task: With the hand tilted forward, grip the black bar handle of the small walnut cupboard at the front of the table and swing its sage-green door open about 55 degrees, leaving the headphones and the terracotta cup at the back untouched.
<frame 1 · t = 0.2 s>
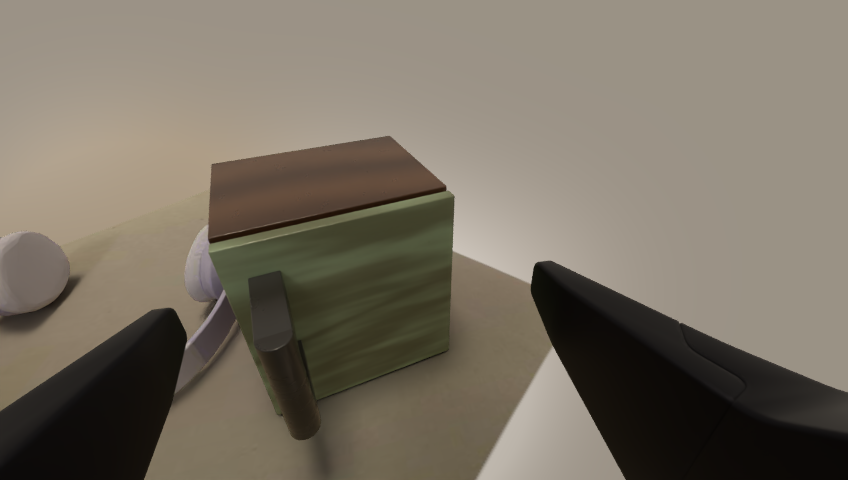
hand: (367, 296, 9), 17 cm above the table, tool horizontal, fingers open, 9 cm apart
door: (370, 339, 22), point 7 cm above the table, hinge at 0.0°
headphones: (100, 349, 30), on the table
cupboard: (348, 324, 32), on the table
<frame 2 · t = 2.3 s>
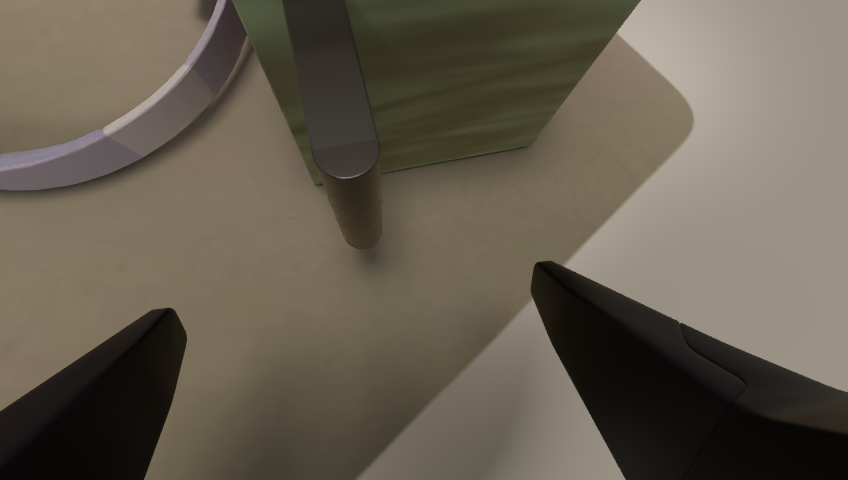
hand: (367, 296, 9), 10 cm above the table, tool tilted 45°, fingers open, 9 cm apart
door: (461, 138, 15), point 7 cm above the table, hinge at 0.0°
headphones: (62, 36, 22), on the table
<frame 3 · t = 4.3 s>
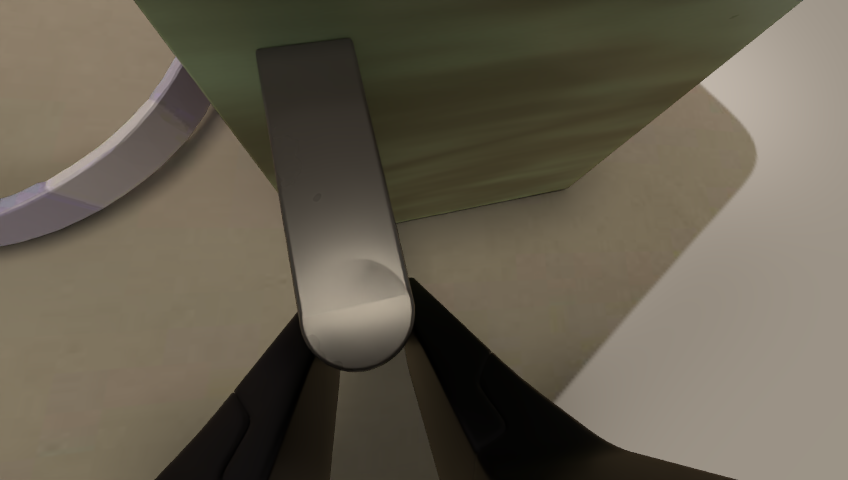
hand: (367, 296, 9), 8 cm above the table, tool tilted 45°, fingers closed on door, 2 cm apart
door: (504, 210, 11), point 7 cm above the table, hinge at 0.0°, touching gripper
headphones: (10, 58, 18), on the table
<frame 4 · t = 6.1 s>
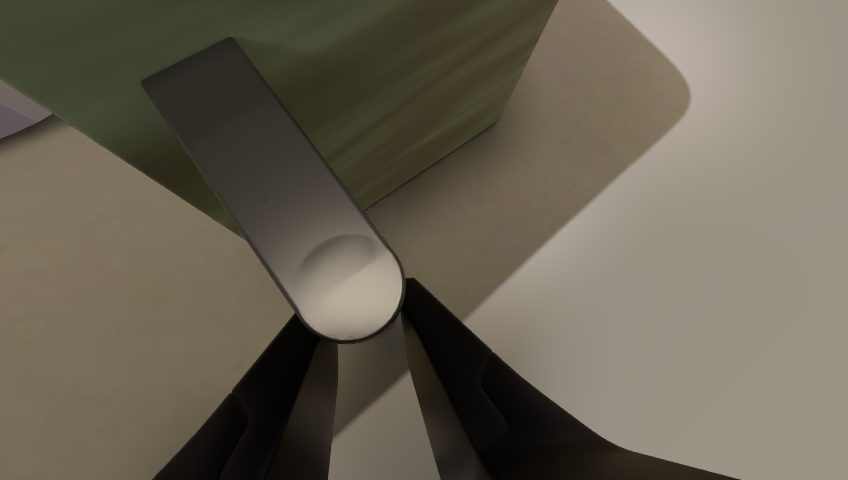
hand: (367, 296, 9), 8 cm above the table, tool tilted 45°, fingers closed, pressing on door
door: (447, 157, 11), point 7 cm above the table, hinge at 25.1°, touching gripper
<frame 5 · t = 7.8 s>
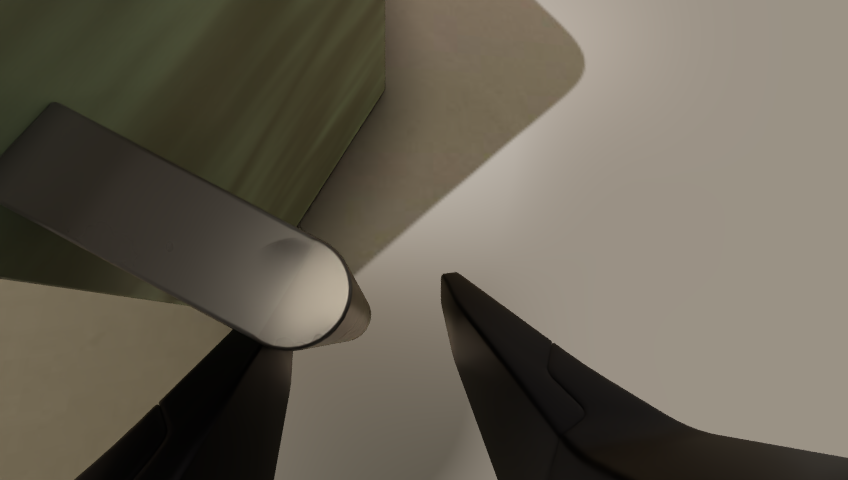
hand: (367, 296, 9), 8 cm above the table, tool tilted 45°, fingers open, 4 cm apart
door: (348, 139, 11), point 7 cm above the table, hinge at 49.2°
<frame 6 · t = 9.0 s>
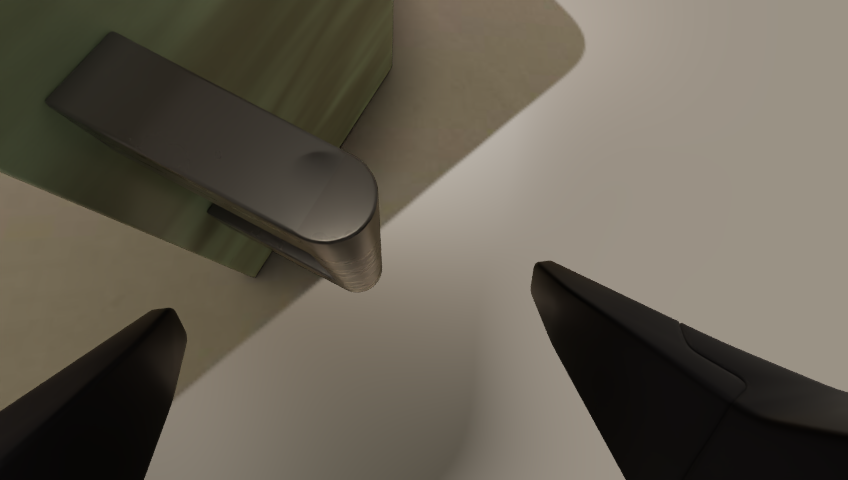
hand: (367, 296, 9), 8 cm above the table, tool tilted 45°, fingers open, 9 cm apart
door: (361, 99, 12), point 7 cm above the table, hinge at 49.2°
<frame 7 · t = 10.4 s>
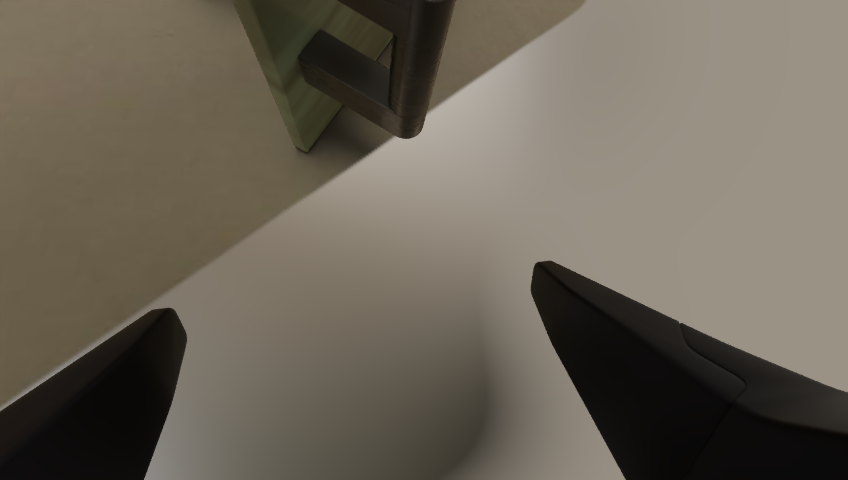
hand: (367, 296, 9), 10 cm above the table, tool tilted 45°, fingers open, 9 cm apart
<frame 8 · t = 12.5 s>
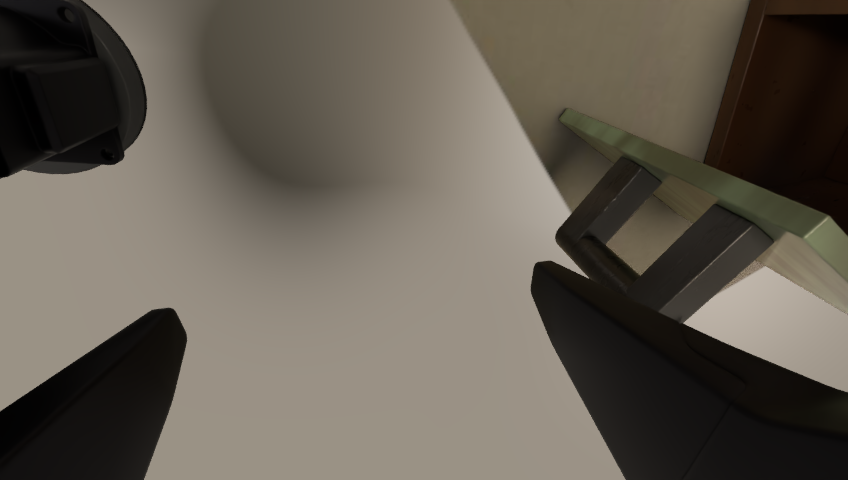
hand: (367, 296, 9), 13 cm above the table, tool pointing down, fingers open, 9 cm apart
door: (677, 255, 19), point 7 cm above the table, hinge at 49.2°
cupboard: (788, 103, 24), on the table
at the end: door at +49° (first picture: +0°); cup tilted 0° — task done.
